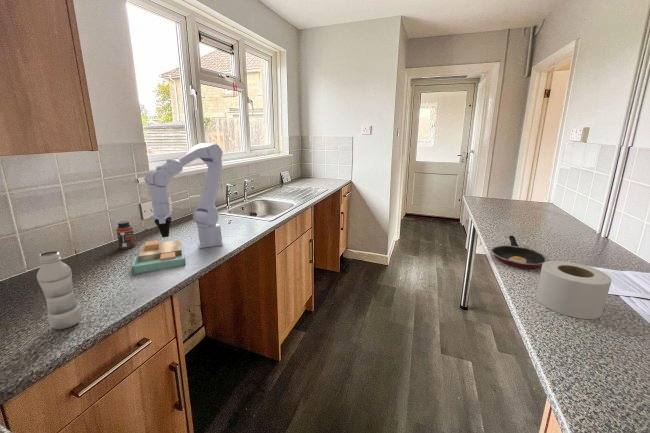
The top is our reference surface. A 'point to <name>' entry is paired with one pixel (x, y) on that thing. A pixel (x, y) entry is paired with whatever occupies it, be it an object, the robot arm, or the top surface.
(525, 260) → the frying pan
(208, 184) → the robot arm
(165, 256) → the tile
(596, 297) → the roll of tape
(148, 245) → the tile
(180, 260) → the tray
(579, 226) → the top surface
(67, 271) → the plastic bottle
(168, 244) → the board
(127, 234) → the supplement bottle
